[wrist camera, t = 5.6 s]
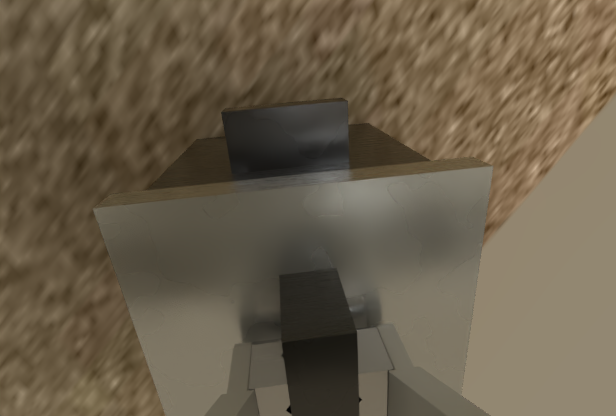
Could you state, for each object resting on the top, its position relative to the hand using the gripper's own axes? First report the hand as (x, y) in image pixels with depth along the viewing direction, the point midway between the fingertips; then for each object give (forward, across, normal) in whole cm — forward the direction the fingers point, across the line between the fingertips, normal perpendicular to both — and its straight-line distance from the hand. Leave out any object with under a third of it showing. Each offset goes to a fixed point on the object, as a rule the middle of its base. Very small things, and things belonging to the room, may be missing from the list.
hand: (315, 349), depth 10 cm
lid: (+1, 0, 0) cm, 1 cm away
